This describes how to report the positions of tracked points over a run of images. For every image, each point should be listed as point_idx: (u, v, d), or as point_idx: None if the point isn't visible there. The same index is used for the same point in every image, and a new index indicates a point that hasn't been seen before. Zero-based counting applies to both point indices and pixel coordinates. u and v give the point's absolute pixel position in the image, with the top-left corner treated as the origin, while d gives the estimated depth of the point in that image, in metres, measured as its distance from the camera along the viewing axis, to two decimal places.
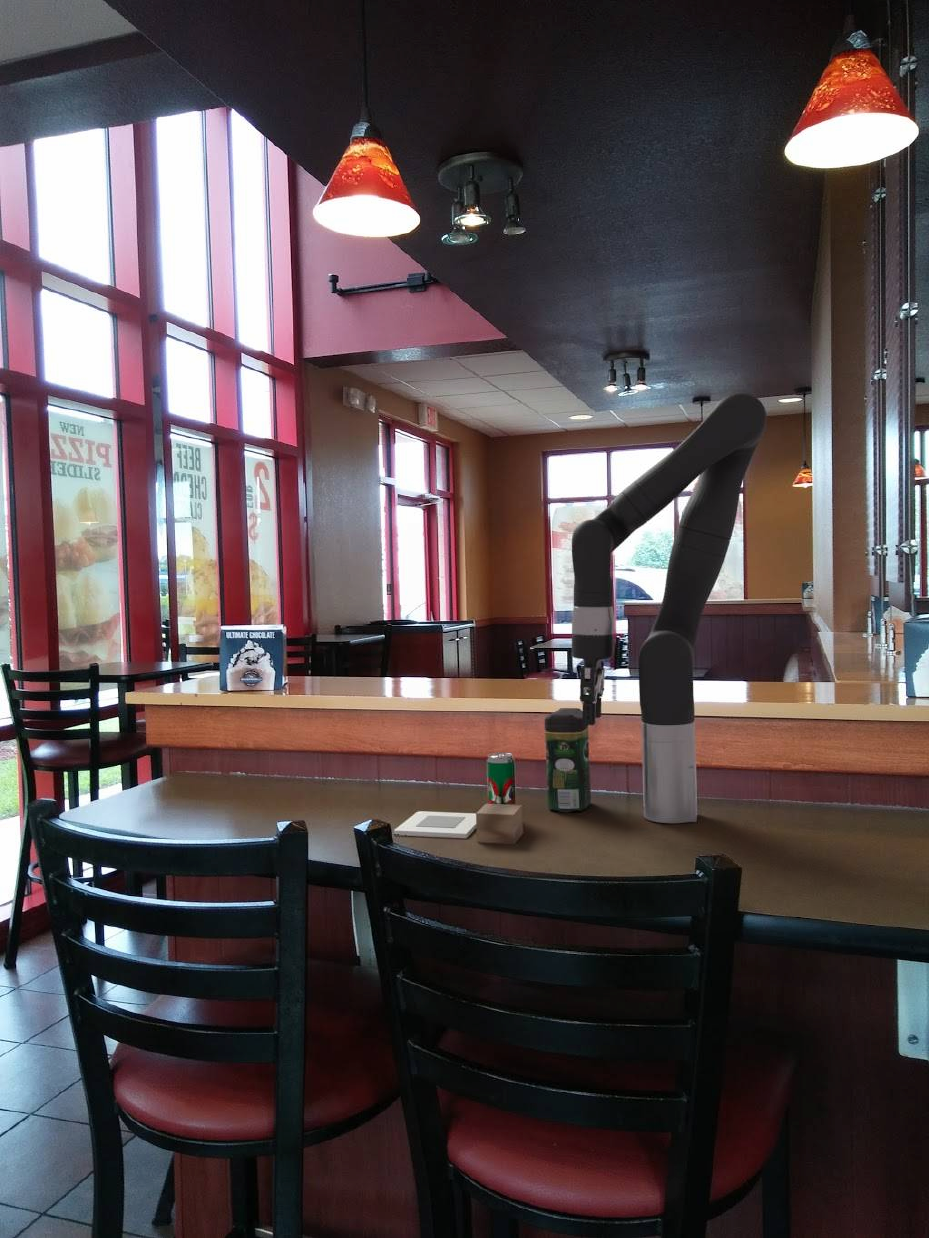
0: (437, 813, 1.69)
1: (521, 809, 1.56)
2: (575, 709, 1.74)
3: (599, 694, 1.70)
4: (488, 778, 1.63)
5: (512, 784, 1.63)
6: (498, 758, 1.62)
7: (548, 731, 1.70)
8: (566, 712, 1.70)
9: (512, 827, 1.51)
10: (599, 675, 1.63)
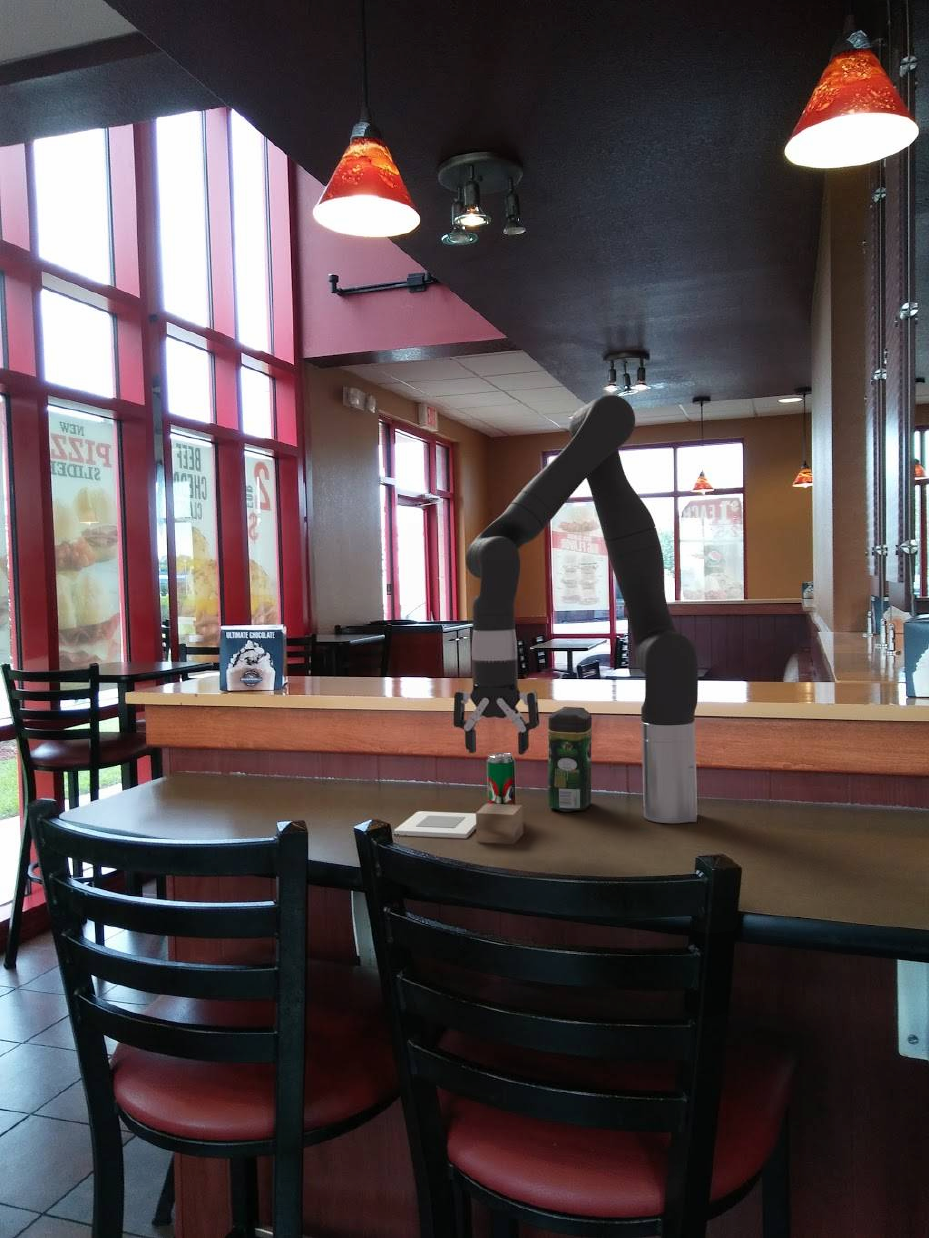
0: (437, 813, 1.69)
1: (521, 809, 1.56)
2: (579, 708, 1.74)
3: (474, 726, 1.56)
4: (488, 778, 1.63)
5: (512, 784, 1.63)
6: (498, 758, 1.62)
7: (552, 730, 1.69)
8: (571, 712, 1.69)
9: (512, 827, 1.51)
10: None
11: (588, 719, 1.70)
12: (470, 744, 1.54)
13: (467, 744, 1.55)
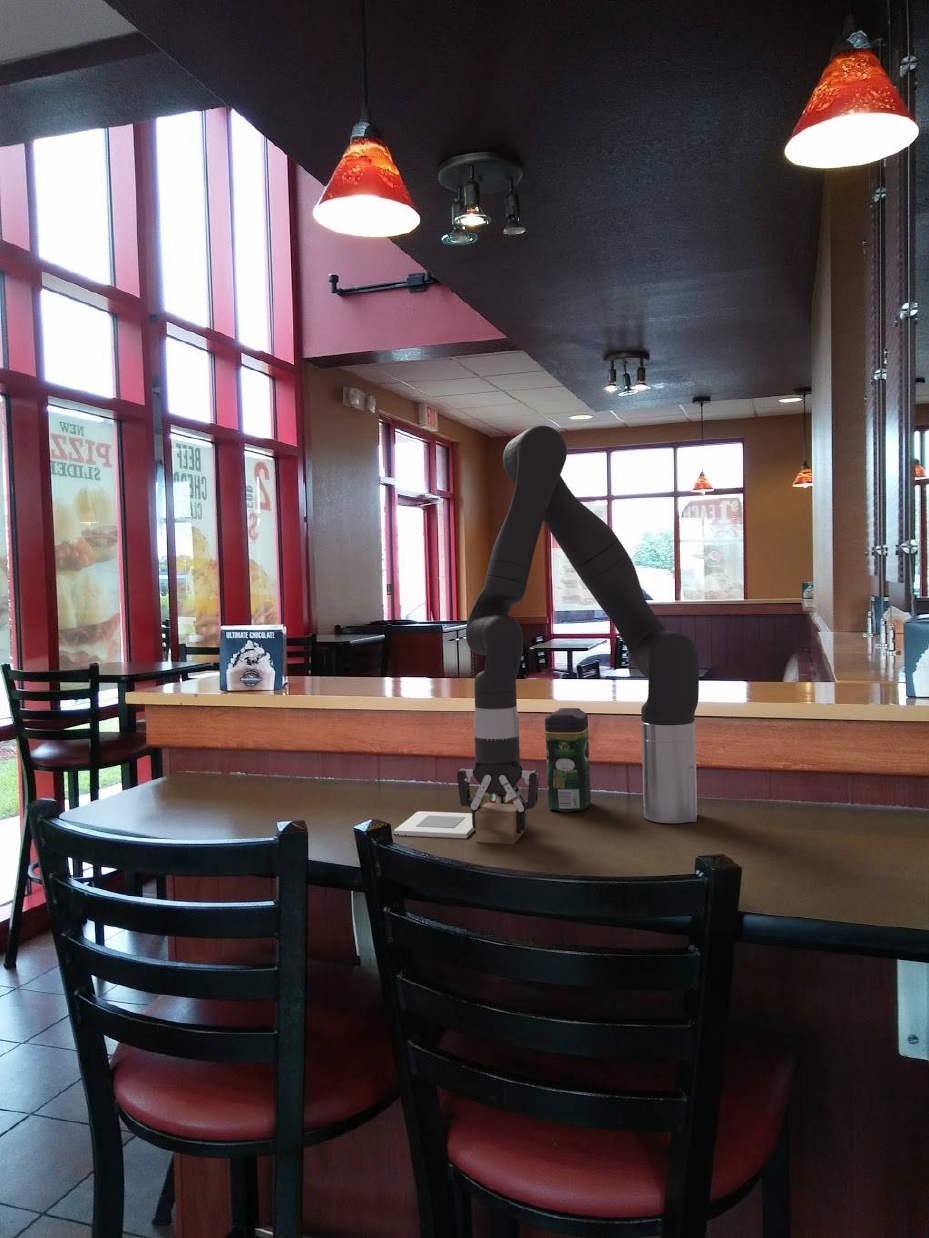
0: (437, 813, 1.69)
1: None
2: (575, 709, 1.74)
3: None
4: None
5: None
6: None
7: (548, 731, 1.70)
8: (566, 712, 1.70)
9: (511, 826, 1.50)
10: None
11: (584, 719, 1.70)
12: None
13: (474, 822, 1.55)
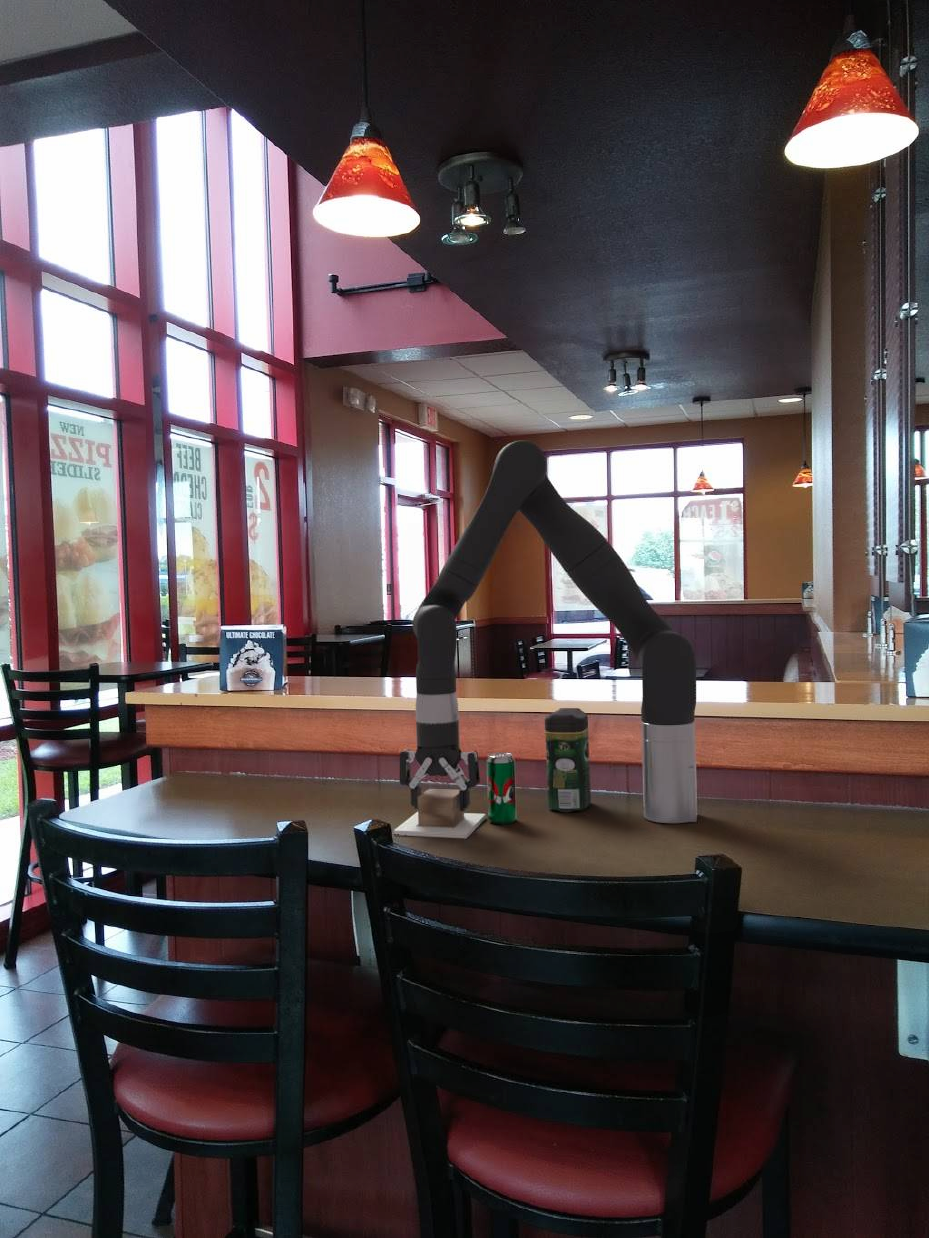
0: None
1: None
2: (575, 709, 1.74)
3: (419, 783, 1.64)
4: (488, 778, 1.63)
5: (512, 784, 1.63)
6: (498, 758, 1.62)
7: (548, 731, 1.70)
8: (566, 712, 1.70)
9: (451, 810, 1.59)
10: None
11: (584, 719, 1.70)
12: (415, 801, 1.63)
13: (413, 801, 1.63)
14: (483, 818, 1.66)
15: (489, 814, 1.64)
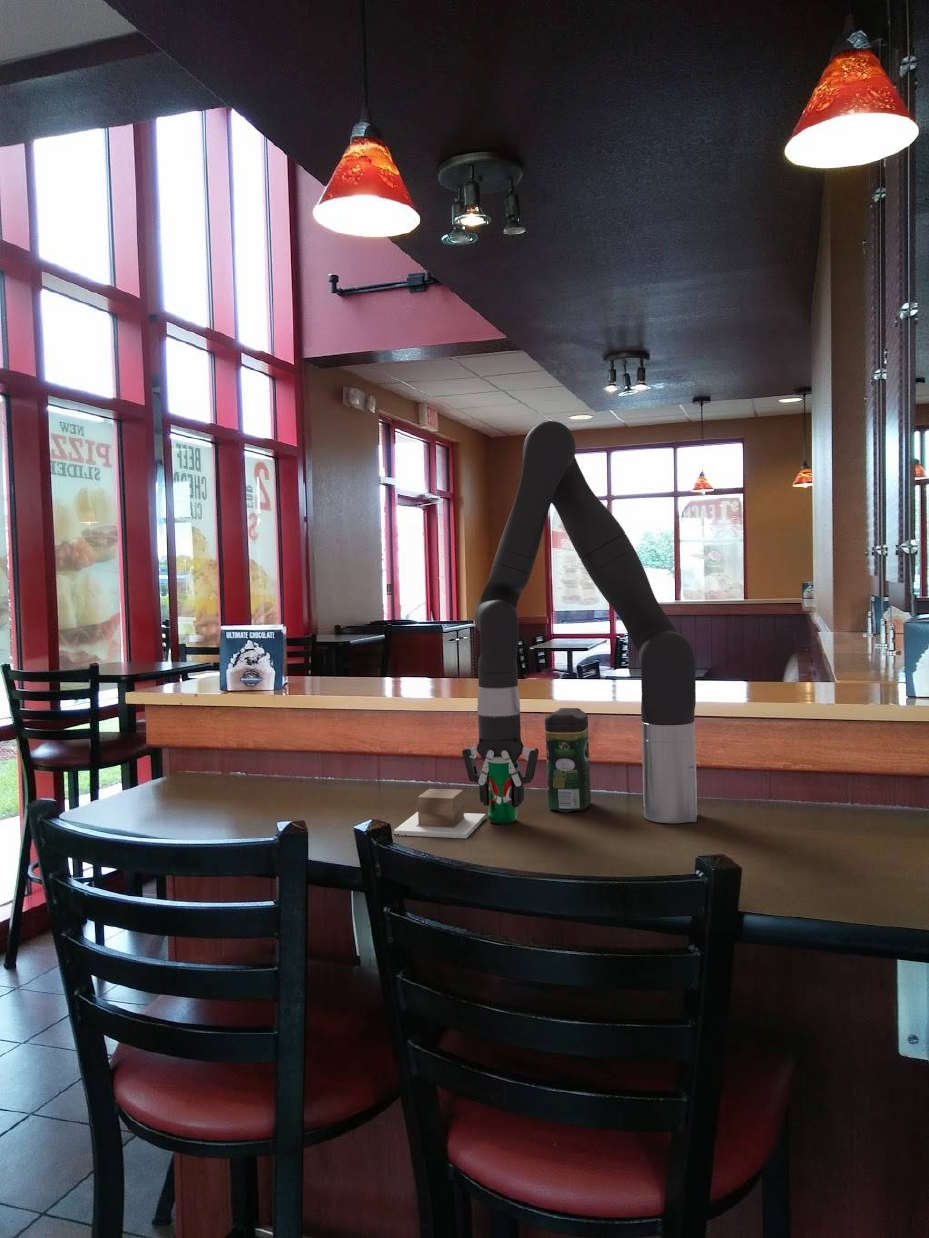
0: None
1: (462, 794, 1.64)
2: (575, 709, 1.74)
3: None
4: (488, 778, 1.63)
5: (512, 784, 1.63)
6: (498, 758, 1.62)
7: (548, 731, 1.70)
8: (566, 712, 1.70)
9: (451, 810, 1.59)
10: None
11: (584, 719, 1.70)
12: (484, 797, 1.64)
13: (481, 797, 1.65)
14: (483, 818, 1.66)
15: (489, 814, 1.64)
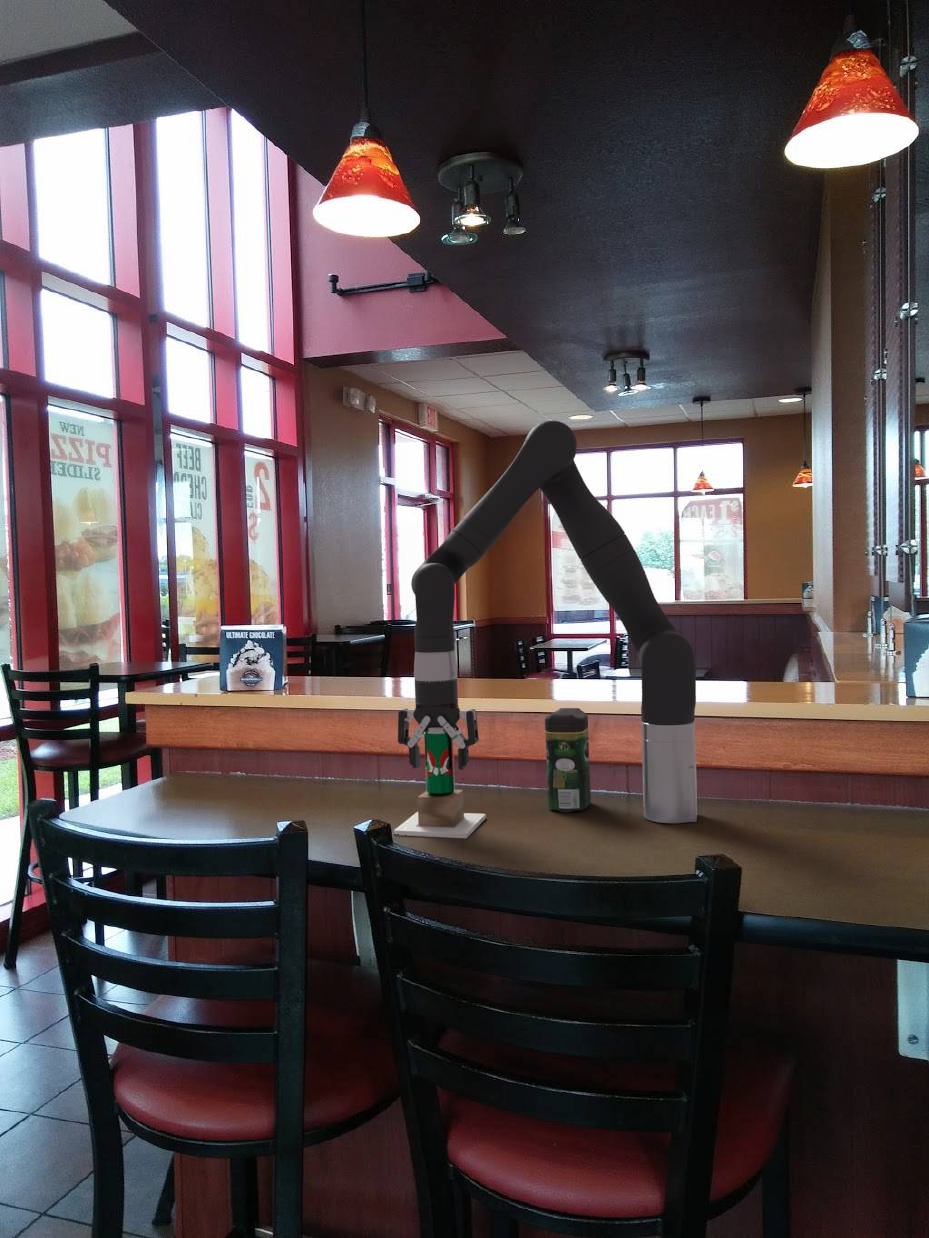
0: None
1: (462, 794, 1.64)
2: (575, 709, 1.74)
3: (417, 742, 1.64)
4: (425, 749, 1.61)
5: (450, 755, 1.60)
6: (435, 729, 1.60)
7: (548, 731, 1.70)
8: (566, 712, 1.70)
9: (451, 810, 1.59)
10: None
11: (584, 719, 1.70)
12: (413, 760, 1.62)
13: (411, 760, 1.63)
14: (483, 818, 1.66)
15: (427, 786, 1.61)
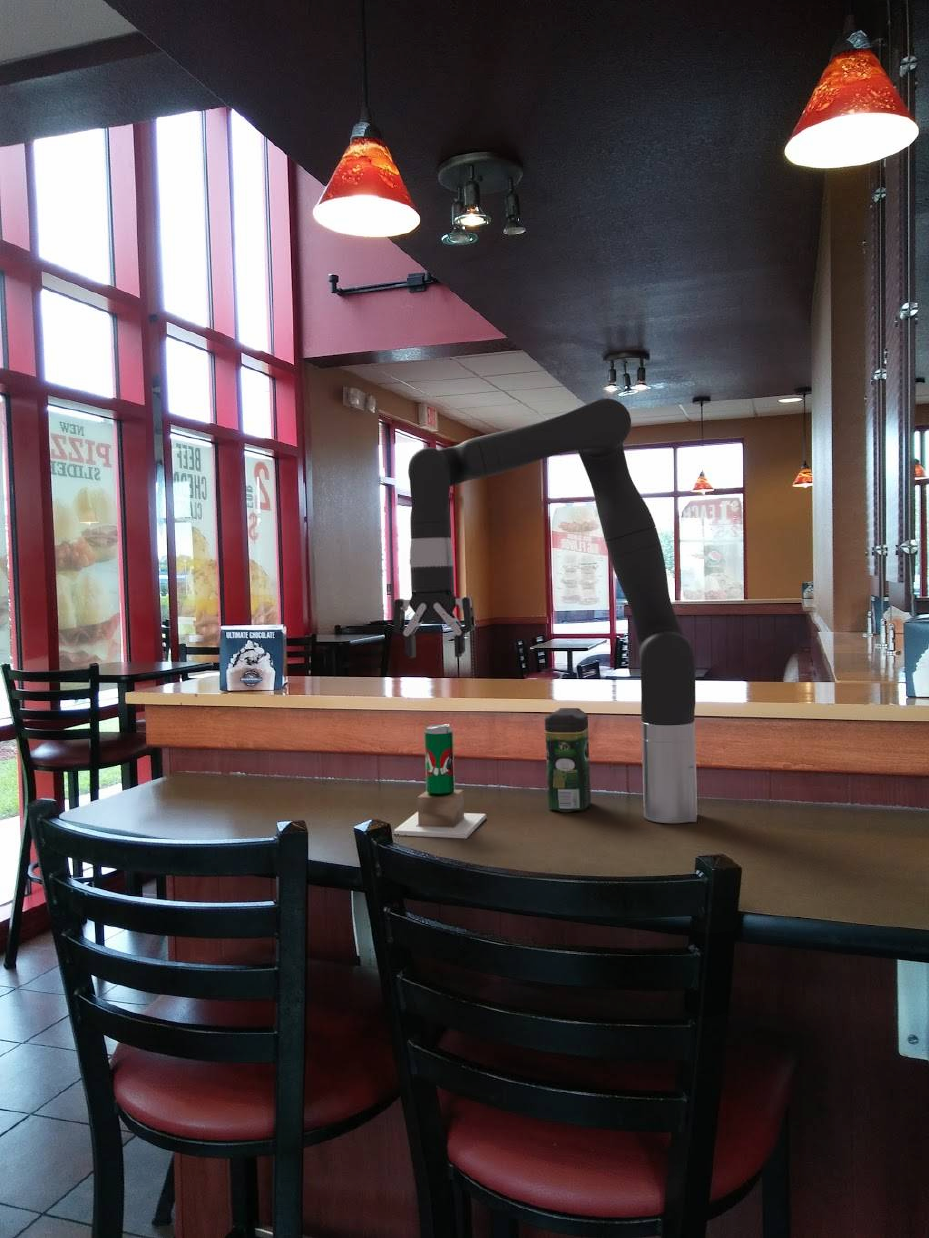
0: None
1: (462, 794, 1.64)
2: (575, 709, 1.74)
3: (413, 632, 1.63)
4: (426, 749, 1.61)
5: (450, 755, 1.60)
6: (435, 729, 1.60)
7: (548, 731, 1.70)
8: (566, 712, 1.70)
9: (451, 810, 1.59)
10: None
11: (584, 719, 1.70)
12: (409, 649, 1.61)
13: (407, 649, 1.62)
14: (483, 818, 1.66)
15: (427, 786, 1.61)
